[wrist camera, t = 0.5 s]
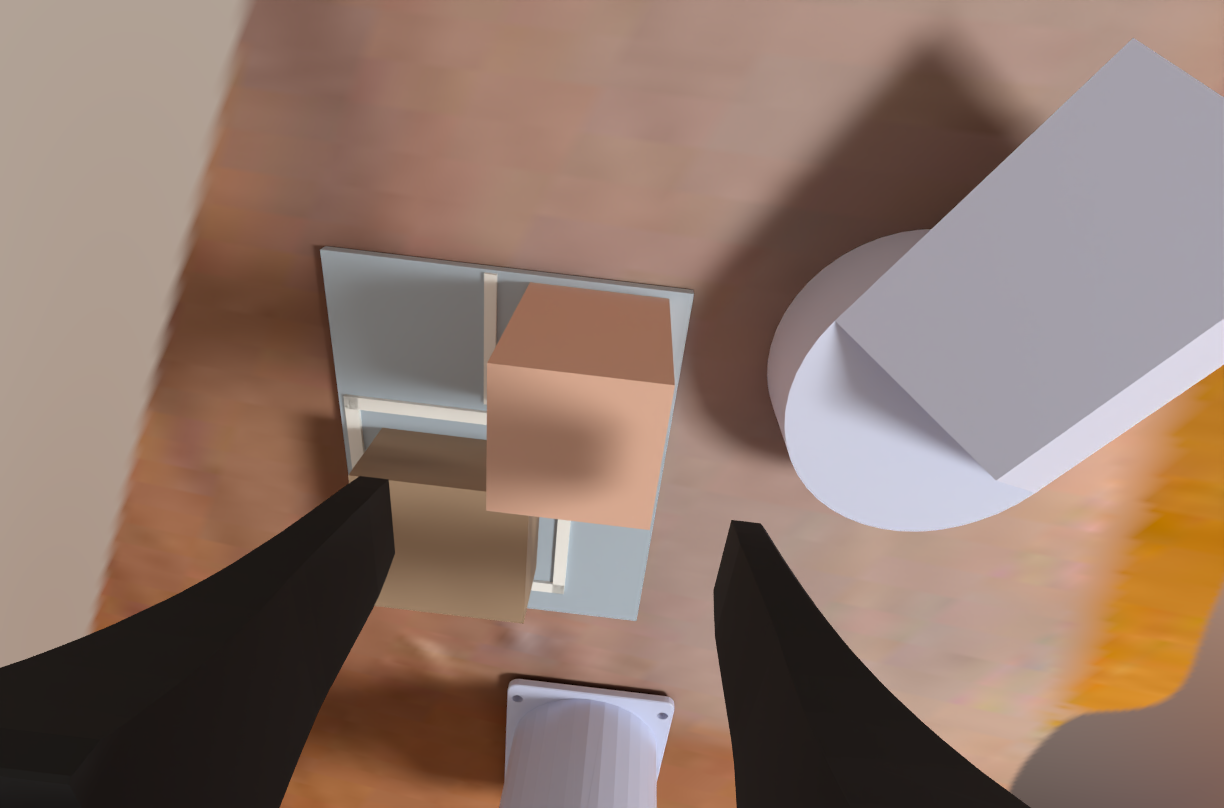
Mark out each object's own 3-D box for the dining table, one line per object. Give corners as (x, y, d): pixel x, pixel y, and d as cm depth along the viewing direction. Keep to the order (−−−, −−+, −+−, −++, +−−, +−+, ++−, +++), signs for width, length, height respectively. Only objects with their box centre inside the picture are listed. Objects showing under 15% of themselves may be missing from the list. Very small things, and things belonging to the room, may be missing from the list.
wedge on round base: (1049, 39, 17) (712, 377, 22) (1264, 34, 11) (734, 496, 16) (1229, 252, 19) (885, 510, 24) (1484, 342, 13) (959, 656, 19)
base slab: (536, 566, 26) (523, 623, 24) (393, 549, 26) (364, 604, 24) (543, 446, 23) (529, 496, 21) (382, 427, 23) (348, 475, 21)
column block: (650, 418, 22) (649, 529, 17) (525, 403, 22) (486, 510, 17) (669, 298, 20) (675, 385, 15) (529, 282, 20) (487, 363, 15)
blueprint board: (636, 614, 28) (636, 623, 27) (366, 581, 28) (361, 590, 27) (693, 289, 20) (694, 295, 20) (325, 246, 20) (317, 250, 20)
